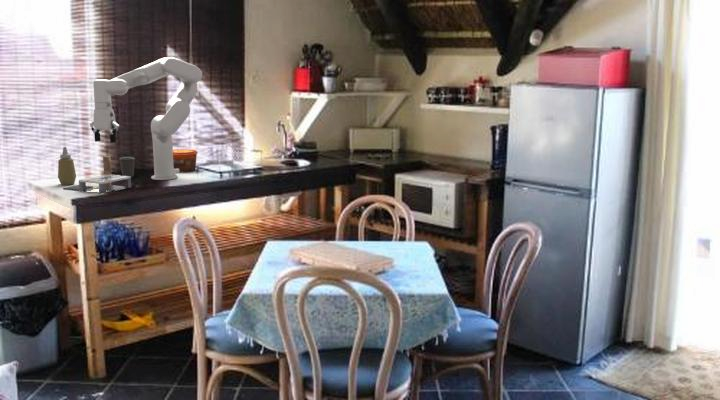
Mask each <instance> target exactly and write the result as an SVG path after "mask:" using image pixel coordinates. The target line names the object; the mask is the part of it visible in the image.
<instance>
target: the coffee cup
mask: <svg viewBox="0 0 720 400" xmlns="http://www.w3.org/2000/svg"><path fill="white" fill-rule="evenodd" d="M135 160H136V158H135V157H133V156H122V157H120V158H119V159H118V161H119V164H120V169H121V174H122V175H121V176H131V178H132V177H134V175H135V174H134V173H135Z"/></svg>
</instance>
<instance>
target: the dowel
mask: <svg viewBox="0 0 720 400" xmlns="http://www.w3.org/2000/svg"><path fill="white" fill-rule="evenodd" d="M102 162H103V166H102V167H103V175H107V174H110V175H113V174H112V162H111V156H110V155H104V156H102ZM103 180H105V179H103Z"/></svg>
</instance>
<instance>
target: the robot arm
mask: <svg viewBox="0 0 720 400" xmlns="http://www.w3.org/2000/svg"><path fill="white" fill-rule="evenodd" d="M169 75H170V76H173V77H176V78H179V79H180V85H179V87H178V89H177V91H176V92H175V93H174V95H173V96H172V97H171V98H170V99H169V101H168V102H167V103H166V105H165V112H166V113H165V114H164V115H161V114H160V115H156V116H155V117H153V118H152V120H151V122H150V132H151V137H152V151H153V153H152V154H153V171H154V173H153V174H154V175H151V177H150V178H151V179H152V180H154V181H168V180H175V179H178V175H177V174H176V173H180V172H179V169H175V168H174V164H173V150H174V148H173V146H174V144H173V137H172V136H173V135H174V134H175V133H177V131H178V130H179V129H180V128H181V126H182V125H183V124H184V122H185V121H186V120H187V119H188V117H189V115H190V112H191V107H190V104H191V103H192V101H193V99H194V98H195V96H196V95H197V91H198V82H200V81H201V80H202V77H203V71H202V69H200V68H199V67H198V66H197V65H194V64H192V63H189V62H186V61H184V60H181V59H178V58H176V57H173V56H170V57H169V56H167V57H162V58H159V59H157V60H155V61H153V62H150V63H148V64H145V65H143V66H141V67H138V68H136V69H133V70H131V71H129V72H126V73H123V74H121V75H118V76H116V77H114V78H112V79H94V81H93V84H92V85H93V97H94V101H93V102H94V110H93V121H91V122H90V123H89V126H90V130H91V131H92V133H93V135H94V142H95V143H96V142H101V133H100V131H108V132H109V133H110V134H109V141H110V143H111V144H112V143H113V144H114V143H116V142H117V136H116V135H117V133H118V131H119V128H120V124H118V123H117V122H116V115H115V111H114V109H113V108H112V107H113V104H112V95H117V96H123V95H125V94H127V92H128V91H129V89H131V88H135V87H139V86H144V85H149V84H151V83H154V82H156V81H158V80H160V79H162V78H165V77H167V76H169Z"/></svg>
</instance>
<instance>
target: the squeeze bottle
mask: <svg viewBox="0 0 720 400" xmlns="http://www.w3.org/2000/svg"><path fill="white" fill-rule="evenodd" d="M59 157H60V159H58V160H57V161H58V164H57V165H58V166H57V178H58V180H59V182H60V185H63V186H73V185H75V182H76V180H77V179H76V178H77V174H76V168H75V163H74V159H73V158H71V157H72V156H71V154H70V153H69V152H68V150H67V146H63V148H62V154H61V153H60V155H59Z"/></svg>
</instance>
